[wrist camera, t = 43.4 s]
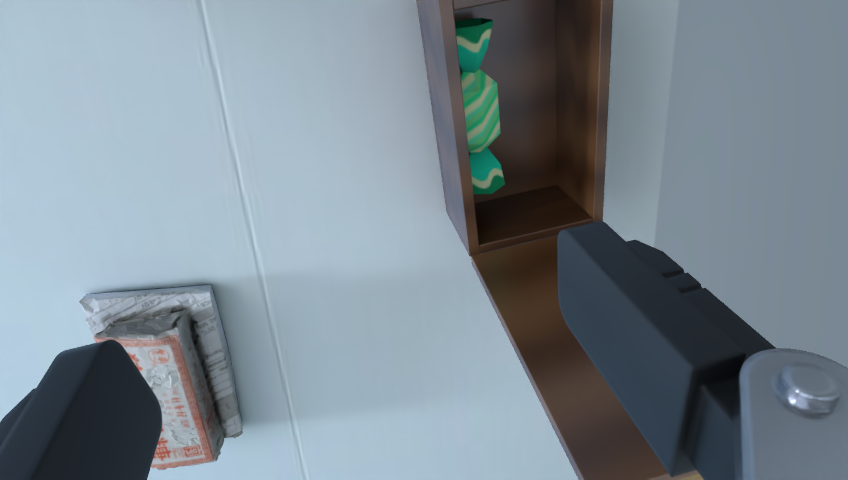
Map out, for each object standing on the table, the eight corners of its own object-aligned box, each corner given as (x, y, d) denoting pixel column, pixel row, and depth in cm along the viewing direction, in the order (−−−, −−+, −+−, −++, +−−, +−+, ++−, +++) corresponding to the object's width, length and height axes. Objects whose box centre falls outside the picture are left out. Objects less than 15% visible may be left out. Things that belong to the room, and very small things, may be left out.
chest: (414, -10, 34) (438, -2, 27) (561, -38, 35) (615, -36, 28) (447, 213, 43) (469, 256, 37) (561, 186, 44) (602, 224, 38)
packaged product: (240, 466, 46) (125, 483, 45) (246, 424, 51) (141, 438, 49) (203, 316, 37) (57, 329, 36) (213, 280, 42) (83, 290, 40)
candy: (463, 17, 35) (425, 30, 33) (503, 16, 33) (465, 30, 30) (479, 170, 41) (448, 191, 39) (513, 178, 39) (483, 200, 37)
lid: (592, 495, 21) (586, 550, 24) (816, 430, 22) (786, 490, 24) (471, 255, 36) (476, 306, 39) (606, 223, 37) (602, 275, 40)
